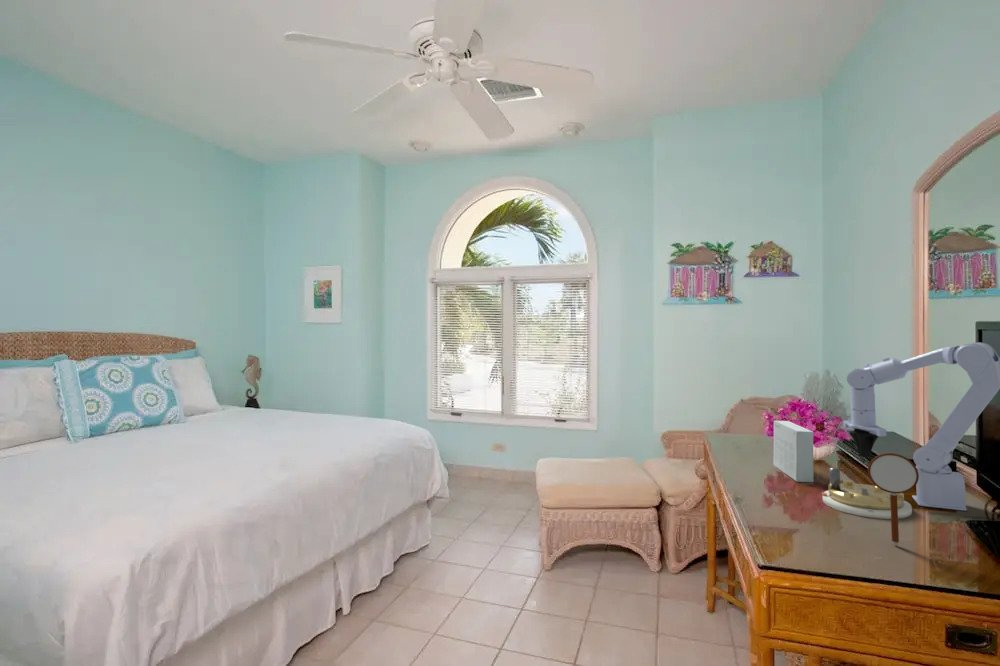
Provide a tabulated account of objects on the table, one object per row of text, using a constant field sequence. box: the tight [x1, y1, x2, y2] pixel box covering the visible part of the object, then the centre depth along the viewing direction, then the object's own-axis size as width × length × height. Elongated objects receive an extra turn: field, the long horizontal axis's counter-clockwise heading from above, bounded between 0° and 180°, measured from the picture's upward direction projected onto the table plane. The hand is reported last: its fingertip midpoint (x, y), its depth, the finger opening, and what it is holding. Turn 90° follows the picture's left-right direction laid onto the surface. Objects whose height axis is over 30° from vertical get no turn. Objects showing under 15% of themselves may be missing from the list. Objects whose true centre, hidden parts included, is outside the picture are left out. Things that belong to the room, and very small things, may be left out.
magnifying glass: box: [867, 452, 919, 547], centre depth 106 cm, size 9×2×20 cm, turn 57°
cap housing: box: [821, 489, 913, 520], centre depth 130 cm, size 19×19×2 cm
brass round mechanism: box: [828, 467, 905, 510], centre depth 130 cm, size 16×16×7 cm
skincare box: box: [772, 420, 814, 483], centre depth 162 cm, size 21×6×16 cm, turn 168°
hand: (864, 456), depth 142 cm, fingers closed
